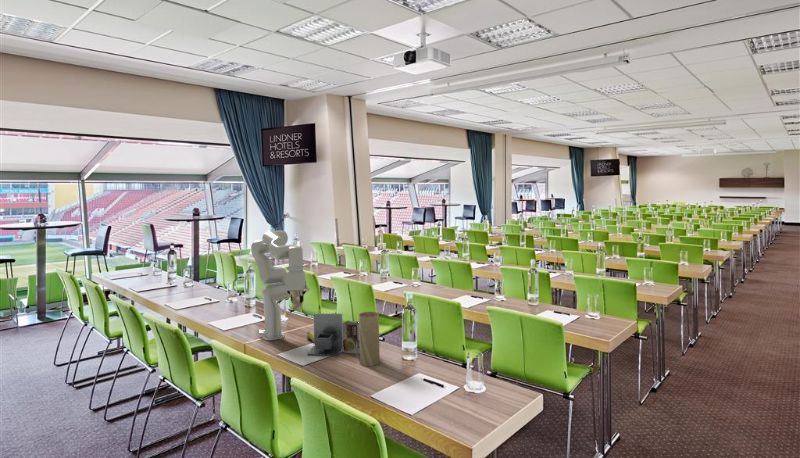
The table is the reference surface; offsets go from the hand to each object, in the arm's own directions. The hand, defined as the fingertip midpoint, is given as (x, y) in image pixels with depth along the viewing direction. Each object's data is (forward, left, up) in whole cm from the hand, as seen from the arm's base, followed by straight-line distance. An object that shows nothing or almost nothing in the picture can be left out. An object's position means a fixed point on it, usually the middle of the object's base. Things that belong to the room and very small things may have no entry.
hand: (297, 302), depth 259 cm
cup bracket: (+15, +2, -27) cm, 31 cm away
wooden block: (0, 0, -4) cm, 4 cm away
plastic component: (+8, +24, -28) cm, 38 cm away
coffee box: (+30, +2, -28) cm, 41 cm away
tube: (+42, -14, -28) cm, 52 cm away
